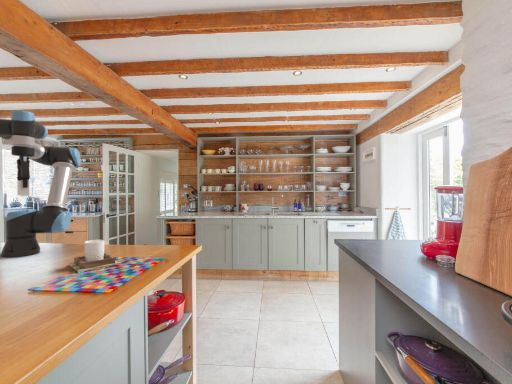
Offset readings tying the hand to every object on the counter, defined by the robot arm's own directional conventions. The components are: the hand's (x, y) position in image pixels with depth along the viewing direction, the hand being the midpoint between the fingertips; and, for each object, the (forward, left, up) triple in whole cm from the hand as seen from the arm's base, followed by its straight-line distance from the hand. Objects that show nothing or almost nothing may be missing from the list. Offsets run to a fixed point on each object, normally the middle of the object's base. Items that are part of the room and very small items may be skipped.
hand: (23, 195), depth 113 cm
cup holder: (+18, +23, -32) cm, 43 cm away
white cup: (+18, +23, -31) cm, 42 cm away
